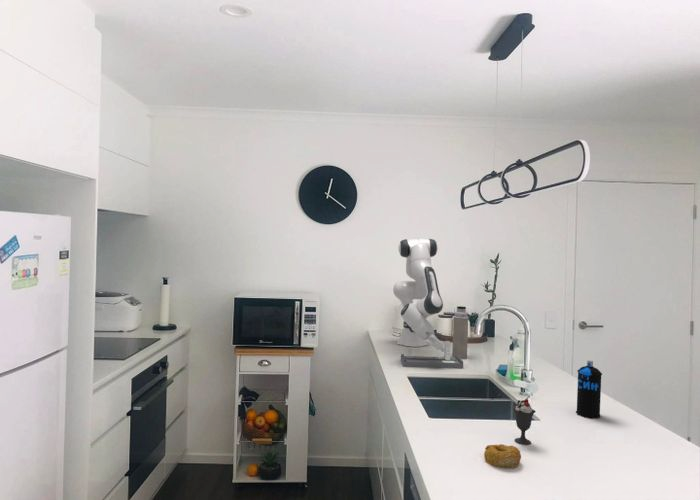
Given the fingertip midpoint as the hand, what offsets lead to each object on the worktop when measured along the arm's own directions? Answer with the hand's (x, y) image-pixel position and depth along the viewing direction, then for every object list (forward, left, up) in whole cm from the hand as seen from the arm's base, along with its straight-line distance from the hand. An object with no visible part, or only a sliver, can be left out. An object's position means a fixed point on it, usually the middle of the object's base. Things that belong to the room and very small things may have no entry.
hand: (443, 350), depth 247 cm
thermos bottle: (-18, +13, -8) cm, 24 cm away
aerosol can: (+70, +40, -8) cm, 80 cm away
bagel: (+111, -6, -8) cm, 111 cm away
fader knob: (0, +2, -4) cm, 5 cm away
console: (0, -6, -7) cm, 10 cm away
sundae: (+97, +6, -8) cm, 97 cm away
